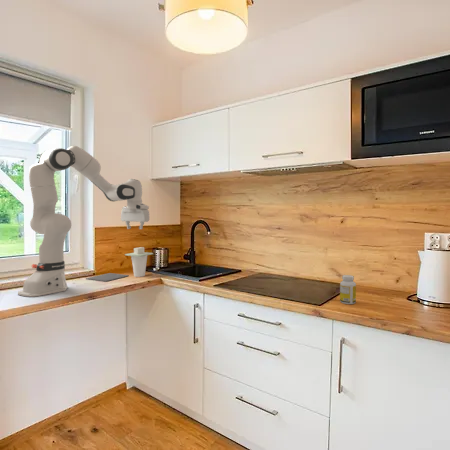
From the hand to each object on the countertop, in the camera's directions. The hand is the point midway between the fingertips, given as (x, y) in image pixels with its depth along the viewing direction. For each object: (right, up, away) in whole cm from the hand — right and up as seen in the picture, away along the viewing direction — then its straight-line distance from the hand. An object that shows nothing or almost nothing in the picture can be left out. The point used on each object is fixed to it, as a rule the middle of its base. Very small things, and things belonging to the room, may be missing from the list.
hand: (134, 229), depth 205 cm
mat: (-15, -29, -4) cm, 33 cm away
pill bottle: (+108, -32, -59) cm, 127 cm away
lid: (+2, -16, +1) cm, 16 cm away
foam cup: (+2, -29, +2) cm, 29 cm away
